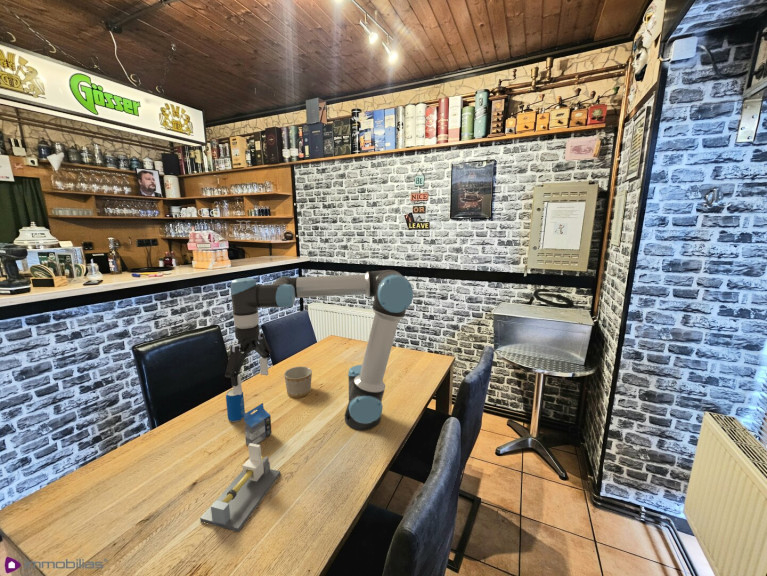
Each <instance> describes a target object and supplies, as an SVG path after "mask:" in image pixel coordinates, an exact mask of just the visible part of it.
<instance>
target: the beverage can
mask: <svg viewBox="0 0 767 576" xmlns="http://www.w3.org/2000/svg"><path fill="white" fill-rule="evenodd" d="M244 398H245V397H244V392H243V391H242V394H241V395H238V394H234V392H233V388H232V389H230V390H228V391H227V392H226V395H225V402H226V413H227V419H228V421H230V422H232V423H233V422H234V423H236V422H240V421H241V420H243V419H244V414H245V413H246V411H245V410H246V409H245V399H244Z"/></svg>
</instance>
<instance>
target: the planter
mask: <svg viewBox="0 0 767 576" xmlns="http://www.w3.org/2000/svg"><path fill="white" fill-rule="evenodd" d="M312 373H313V372H312V369H311V368H309V367H308V366H295V367H291V368H289V369H287V370H285V372H284V374H283V377H284V380H285V381H284V382H285V388H286V389H285V390H286V394H287V395H288V396H289V397H291V398H297V399H299V398H303V397H306V396H307V395H309V394H310V393H311V390H312V375H313V374H312Z"/></svg>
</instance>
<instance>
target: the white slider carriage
mask: <svg viewBox="0 0 767 576" xmlns="http://www.w3.org/2000/svg"><path fill="white" fill-rule="evenodd" d="M247 446H248V447H247V448H248V457H249V458H248V459H247V460H246V461H245V462H244V463H243V464H242V470H243V476H244V475H245V474H246V473H247V472H248V471H249V470H252V471H253V474H252V475H251V477H250V478H249V479H248V480H253V481H258V479H259V478H260V477H261V476H262V474H263V473H264V467H263V460H262V459H261V457H262V449H261V444H252V443H250V444H249V445H247Z"/></svg>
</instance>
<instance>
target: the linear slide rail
mask: <svg viewBox="0 0 767 576" xmlns="http://www.w3.org/2000/svg"><path fill="white" fill-rule="evenodd" d="M261 459H262V460H263V467H264V473H263V474H262V476H261V477H260V478H259V479H258V481H253V480H248V479H249V478H250V477H251V475H252V474H253V471H252V470H249V471H248V472H247V473H246V474H245V475H244V476H243V469H242V470H241V471H240V473H239V474H238V475H237V476H236V477H235V478H234V479H233V480H232V482H230V484H229V485H228V486H227V487H226V488H225V490H223V491H222V493H221V494H220V495H219V496H218V497H217V499H215V501H214V502H213V503H212V504H211V505H210V506H209V507H208V509H207V510H206V511H205V512H204V513H203V514H202V515H201V516H200V518H199V519H200V520H199V521H200V522H201V523H204V522H205V524H207V523H208V525H212V526H215V527H219V528H221V529H226V530H229V531H233V532H236V533H239V532H240V531H241V530H242V528H243V527H244V525H246V523H247V522H248V520H249V518H250V517H251V516H252V514H253V513H254V512H255V511H256V509H257V508H258V506H259V505H260V503H262V501H263V499H264V498H265V496H266V495H267V494H268V492H269V491H270V490H271V489H272V487H273V486H274V484H275V483H276V482H277V481H278V478H279V477H280V476H281V470H278V469H277V470H276V469H271V466H270V465H271V464H270V460H269V456H264V457H263V456H261Z"/></svg>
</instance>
